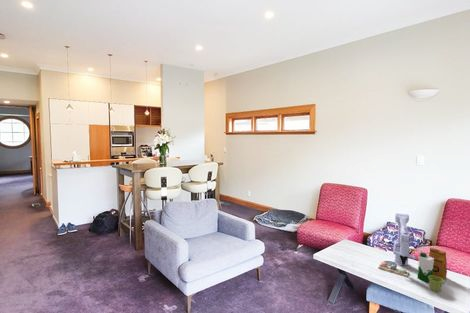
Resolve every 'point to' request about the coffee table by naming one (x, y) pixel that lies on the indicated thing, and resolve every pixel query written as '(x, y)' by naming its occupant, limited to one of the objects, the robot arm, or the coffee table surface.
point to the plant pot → (435, 283)
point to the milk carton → (425, 267)
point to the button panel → (393, 270)
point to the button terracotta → (384, 264)
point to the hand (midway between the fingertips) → (403, 264)
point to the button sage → (403, 271)
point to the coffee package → (439, 263)
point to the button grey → (393, 267)
